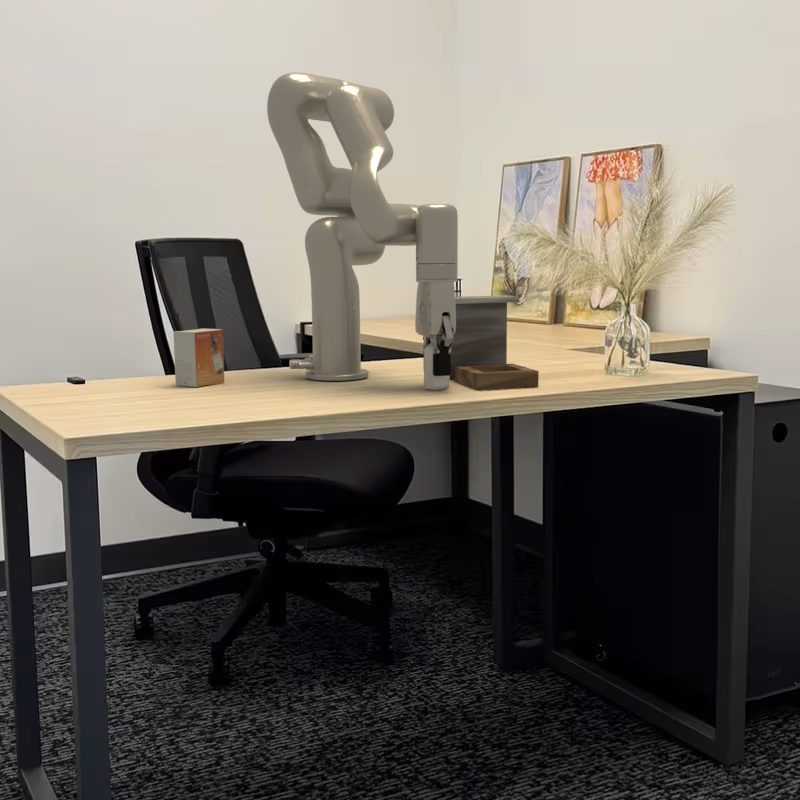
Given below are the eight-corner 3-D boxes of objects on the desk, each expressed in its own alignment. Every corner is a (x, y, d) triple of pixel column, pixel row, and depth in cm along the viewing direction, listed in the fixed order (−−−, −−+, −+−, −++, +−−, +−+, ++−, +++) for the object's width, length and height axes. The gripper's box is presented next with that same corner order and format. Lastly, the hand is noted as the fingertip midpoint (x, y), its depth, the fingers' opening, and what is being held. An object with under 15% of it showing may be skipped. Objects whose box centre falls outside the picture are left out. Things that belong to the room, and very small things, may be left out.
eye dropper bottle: (455, 388, 177) (456, 323, 175) (428, 390, 175) (427, 324, 173) (445, 385, 181) (445, 321, 179) (418, 387, 179) (417, 322, 177)
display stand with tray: (543, 386, 179) (544, 299, 176) (472, 390, 175) (472, 301, 172) (506, 375, 195) (506, 295, 193) (440, 378, 191) (440, 297, 189)
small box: (196, 388, 182) (193, 332, 180) (174, 386, 185) (172, 330, 183) (225, 382, 188) (223, 328, 187) (204, 380, 191) (202, 327, 190)
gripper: (403, 272, 182) (403, 369, 185) (432, 275, 166) (432, 380, 169) (440, 272, 184) (441, 367, 187) (473, 274, 168) (472, 378, 171)
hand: (436, 372), depth 178 cm, fingers closed on eye dropper bottle, 4 cm apart
